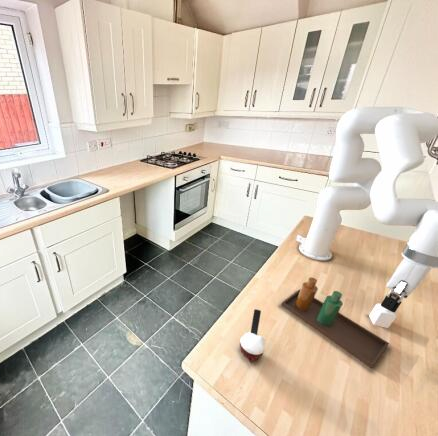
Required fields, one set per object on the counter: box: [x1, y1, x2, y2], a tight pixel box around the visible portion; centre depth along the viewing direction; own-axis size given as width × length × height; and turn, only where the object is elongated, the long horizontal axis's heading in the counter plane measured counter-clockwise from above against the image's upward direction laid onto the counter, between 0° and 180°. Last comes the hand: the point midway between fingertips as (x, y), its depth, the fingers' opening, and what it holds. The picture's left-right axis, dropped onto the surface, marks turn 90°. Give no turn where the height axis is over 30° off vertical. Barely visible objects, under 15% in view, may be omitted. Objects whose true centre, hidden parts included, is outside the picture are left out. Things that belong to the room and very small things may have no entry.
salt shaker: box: [368, 303, 397, 329], centre depth 75 cm, size 4×4×10 cm
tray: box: [280, 288, 390, 369], centre depth 76 cm, size 25×11×2 cm, turn 33°
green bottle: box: [317, 290, 344, 326], centre depth 74 cm, size 4×4×12 cm
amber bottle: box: [295, 276, 319, 311], centre depth 80 cm, size 4×4×12 cm
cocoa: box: [239, 308, 265, 364], centre depth 66 cm, size 10×6×12 cm, turn 136°
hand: (393, 301), depth 72 cm, fingers open, 9 cm apart
